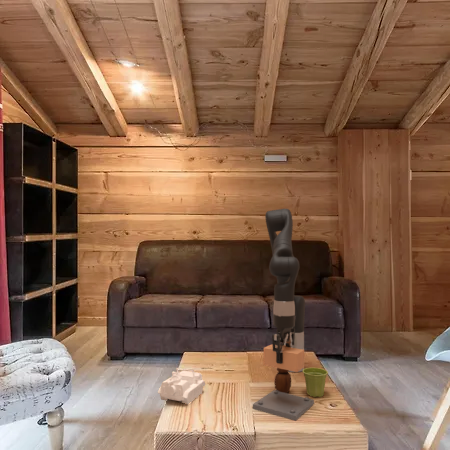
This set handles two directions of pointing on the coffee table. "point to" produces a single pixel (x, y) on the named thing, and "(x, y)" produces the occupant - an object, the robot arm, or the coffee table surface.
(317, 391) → the plant pot
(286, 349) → the brick
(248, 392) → the coffee table surface
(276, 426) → the coffee table surface
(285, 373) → the wooden figurine
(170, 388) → the toy tank
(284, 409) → the baseplate
